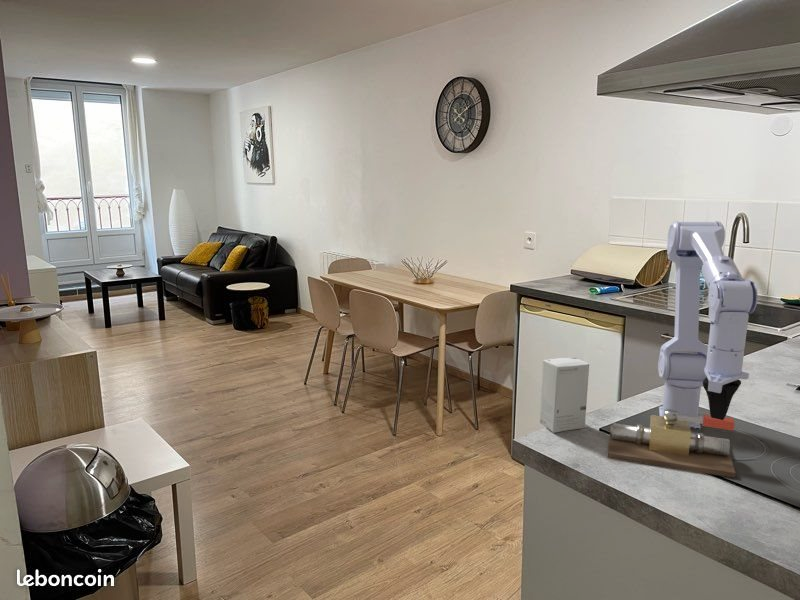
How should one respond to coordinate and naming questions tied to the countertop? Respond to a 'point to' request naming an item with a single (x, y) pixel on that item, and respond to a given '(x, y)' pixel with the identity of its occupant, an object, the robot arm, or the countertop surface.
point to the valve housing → (671, 437)
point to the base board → (671, 458)
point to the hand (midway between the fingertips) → (717, 417)
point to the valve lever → (700, 419)
